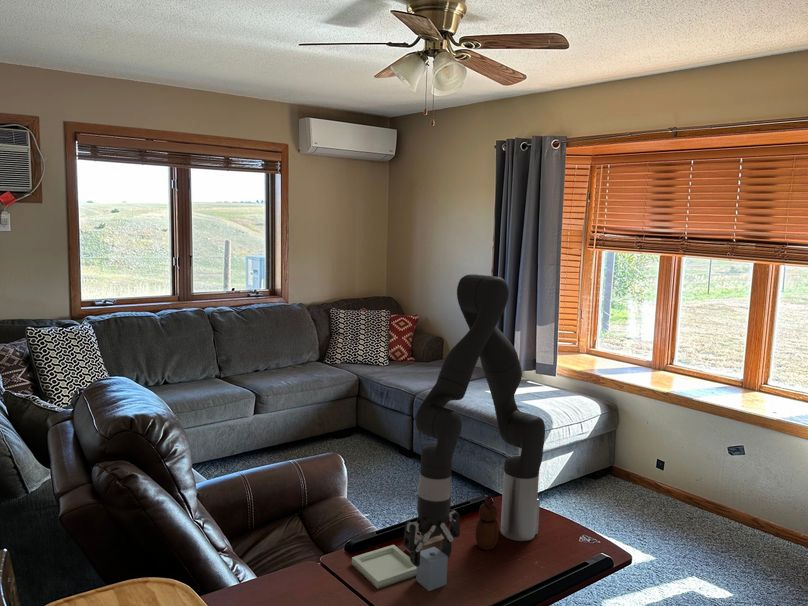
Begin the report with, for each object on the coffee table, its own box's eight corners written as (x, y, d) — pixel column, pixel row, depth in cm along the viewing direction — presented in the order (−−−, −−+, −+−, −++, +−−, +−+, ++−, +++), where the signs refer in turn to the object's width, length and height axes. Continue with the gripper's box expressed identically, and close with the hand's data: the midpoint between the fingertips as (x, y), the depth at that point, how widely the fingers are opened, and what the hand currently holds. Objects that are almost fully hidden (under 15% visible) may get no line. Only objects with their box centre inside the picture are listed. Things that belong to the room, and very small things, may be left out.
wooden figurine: (496, 554, 161) (500, 497, 159) (473, 551, 162) (476, 495, 160) (498, 541, 168) (501, 486, 166) (476, 538, 169) (479, 484, 167)
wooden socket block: (431, 541, 166) (432, 523, 166) (450, 555, 160) (451, 537, 159) (405, 549, 162) (406, 531, 161) (424, 564, 155) (424, 545, 155)
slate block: (433, 574, 151) (434, 546, 150) (446, 584, 147) (447, 556, 146) (416, 580, 148) (417, 551, 148) (428, 591, 144) (430, 561, 143)
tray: (393, 551, 161) (393, 544, 161) (421, 574, 151) (421, 566, 151) (351, 564, 154) (351, 557, 154) (377, 589, 144) (378, 581, 144)
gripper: (418, 505, 138) (414, 576, 140) (469, 492, 146) (465, 559, 148) (399, 492, 144) (395, 560, 146) (449, 481, 152) (445, 545, 154)
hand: (430, 560), depth 147 cm, fingers open, 8 cm apart
